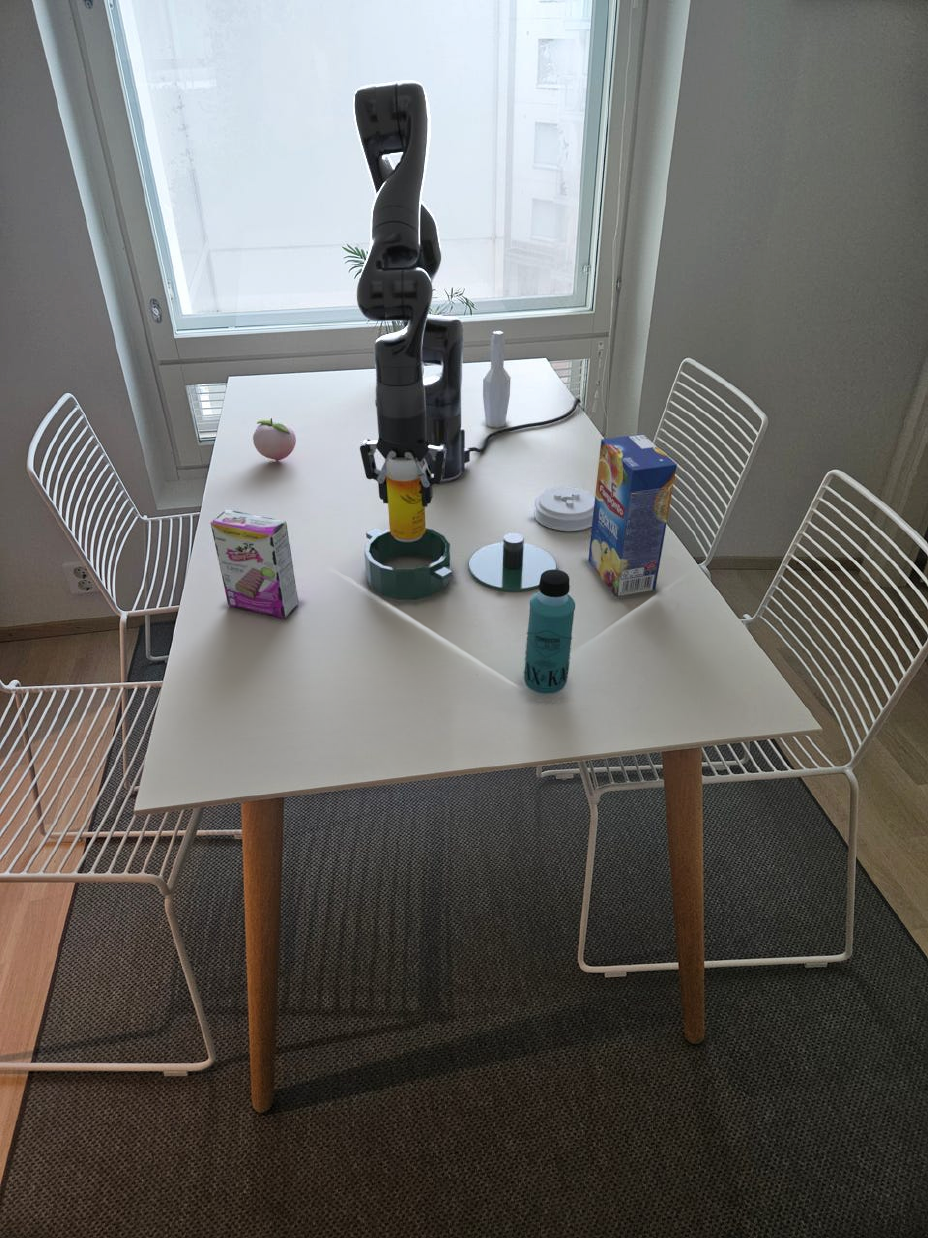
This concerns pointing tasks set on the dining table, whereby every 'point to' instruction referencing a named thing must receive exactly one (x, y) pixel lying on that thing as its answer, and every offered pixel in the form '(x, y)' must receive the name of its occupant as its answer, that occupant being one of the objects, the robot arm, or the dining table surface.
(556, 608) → the beverage bottle
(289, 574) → the candy bar box
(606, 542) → the juice carton
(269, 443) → the decorative fruit
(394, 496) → the beer can
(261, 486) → the dining table surface
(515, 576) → the pot lid
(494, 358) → the low poly bottle
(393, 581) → the pot
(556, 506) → the lid
